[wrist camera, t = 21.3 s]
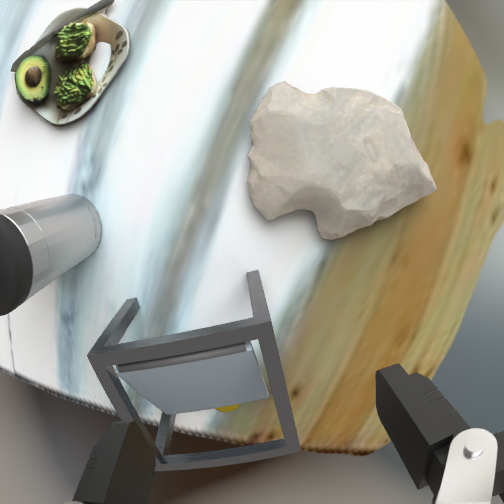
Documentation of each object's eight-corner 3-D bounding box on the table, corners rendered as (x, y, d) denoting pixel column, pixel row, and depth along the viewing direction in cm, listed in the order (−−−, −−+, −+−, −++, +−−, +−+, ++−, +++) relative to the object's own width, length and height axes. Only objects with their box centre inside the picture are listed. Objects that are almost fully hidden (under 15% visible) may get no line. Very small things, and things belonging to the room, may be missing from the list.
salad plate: (83, -15, 31) (72, -28, 26) (163, 28, 34) (156, 14, 30) (6, 85, 34) (-10, 80, 29) (74, 141, 37) (58, 139, 33)
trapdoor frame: (169, 401, 47) (154, 471, 33) (127, 299, 43) (86, 355, 28) (283, 381, 48) (301, 451, 33) (258, 270, 43) (271, 320, 28)
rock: (250, 70, 32) (457, 107, 30) (255, 84, 39) (433, 113, 37) (237, 239, 37) (438, 260, 36) (243, 226, 44) (417, 245, 43)
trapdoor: (166, 408, 40) (167, 414, 39) (113, 362, 29) (113, 371, 29) (268, 390, 40) (269, 397, 39) (249, 338, 29) (251, 347, 29)
